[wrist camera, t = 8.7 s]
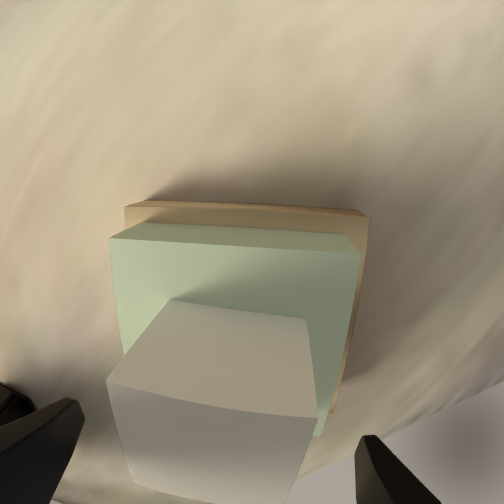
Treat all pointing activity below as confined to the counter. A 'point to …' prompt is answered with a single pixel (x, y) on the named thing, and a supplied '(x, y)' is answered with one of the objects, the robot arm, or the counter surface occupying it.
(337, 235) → the tower top
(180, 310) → the cube
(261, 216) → the tower base
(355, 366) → the counter surface
